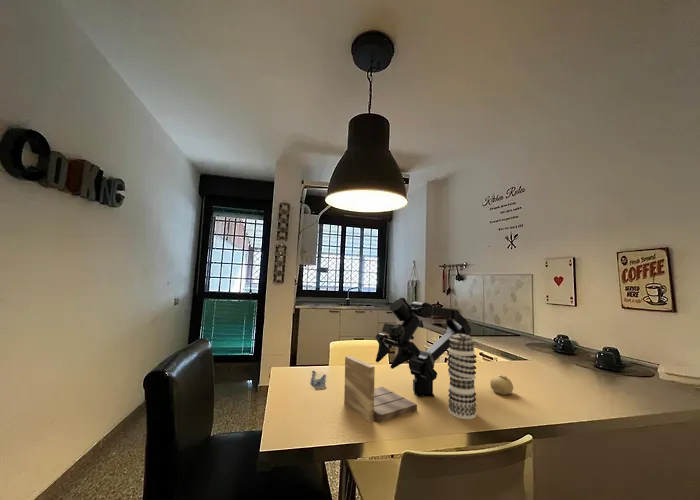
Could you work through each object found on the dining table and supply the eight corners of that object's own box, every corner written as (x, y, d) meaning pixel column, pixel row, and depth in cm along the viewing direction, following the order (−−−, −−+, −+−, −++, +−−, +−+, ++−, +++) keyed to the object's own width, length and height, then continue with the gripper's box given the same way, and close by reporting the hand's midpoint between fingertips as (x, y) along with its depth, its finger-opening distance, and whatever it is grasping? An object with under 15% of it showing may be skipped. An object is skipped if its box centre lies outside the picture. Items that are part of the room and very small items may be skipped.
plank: (349, 403, 103) (350, 355, 105) (373, 420, 92) (374, 366, 93) (344, 404, 102) (345, 356, 103) (368, 421, 90) (369, 367, 92)
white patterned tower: (461, 422, 92) (461, 338, 94) (441, 409, 100) (441, 333, 102) (484, 417, 95) (482, 336, 97) (462, 405, 104) (461, 331, 106)
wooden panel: (382, 392, 114) (382, 385, 114) (416, 410, 99) (416, 403, 99) (346, 400, 105) (346, 393, 105) (378, 422, 90) (378, 414, 90)
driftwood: (325, 391, 115) (326, 386, 115) (308, 391, 114) (308, 386, 114) (327, 374, 135) (327, 369, 135) (312, 374, 135) (312, 369, 135)
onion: (487, 392, 115) (487, 373, 116) (494, 387, 121) (493, 369, 122) (509, 398, 110) (509, 379, 111) (515, 393, 116) (515, 374, 116)
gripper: (379, 311, 116) (355, 344, 109) (413, 318, 100) (388, 356, 93) (394, 330, 119) (372, 363, 113) (430, 339, 104) (407, 378, 97)
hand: (383, 364), depth 104 cm, fingers open, 8 cm apart
